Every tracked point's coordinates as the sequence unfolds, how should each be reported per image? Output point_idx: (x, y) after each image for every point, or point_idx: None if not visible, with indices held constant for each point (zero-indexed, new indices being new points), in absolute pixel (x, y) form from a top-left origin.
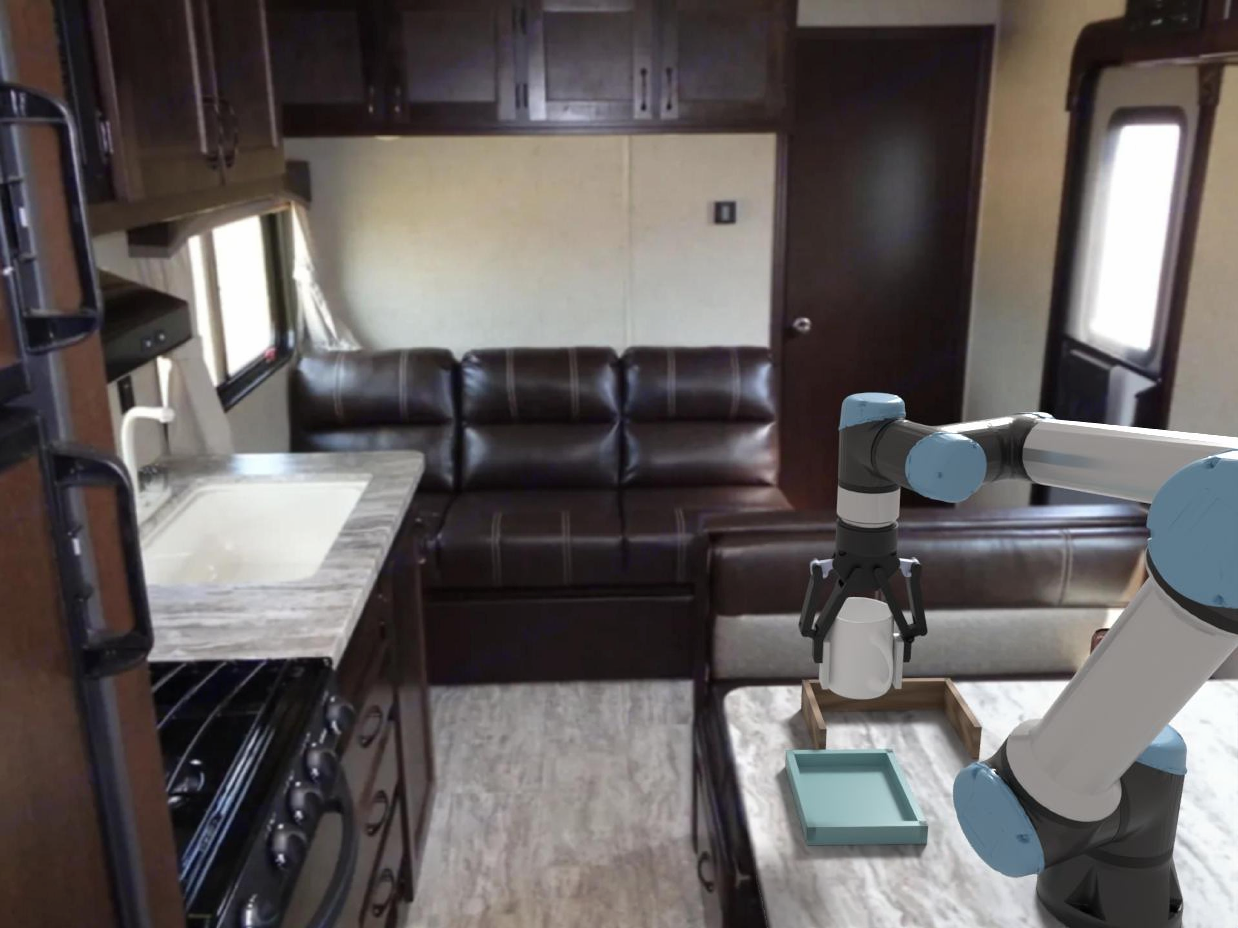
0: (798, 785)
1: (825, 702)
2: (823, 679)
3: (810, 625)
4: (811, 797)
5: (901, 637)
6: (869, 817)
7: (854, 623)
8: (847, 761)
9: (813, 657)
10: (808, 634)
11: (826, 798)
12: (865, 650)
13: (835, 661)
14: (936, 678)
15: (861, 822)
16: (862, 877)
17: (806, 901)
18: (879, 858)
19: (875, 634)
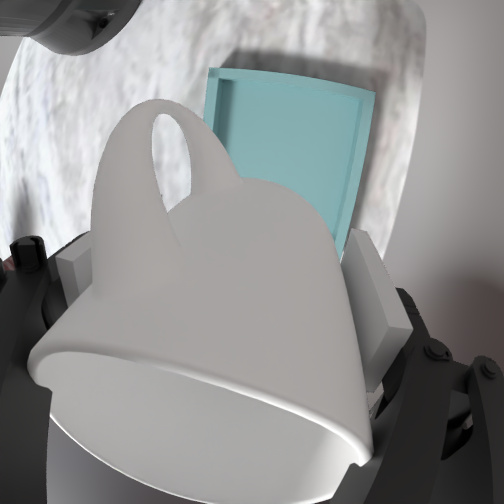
0: (354, 186)
1: None
2: (371, 244)
3: (488, 399)
4: (332, 180)
5: (61, 291)
6: (271, 122)
7: (284, 389)
8: None
9: (412, 303)
10: (478, 364)
11: (314, 173)
12: (229, 239)
13: (341, 276)
14: None
15: (298, 84)
16: (320, 26)
17: (394, 12)
18: (286, 51)
19: (138, 269)
